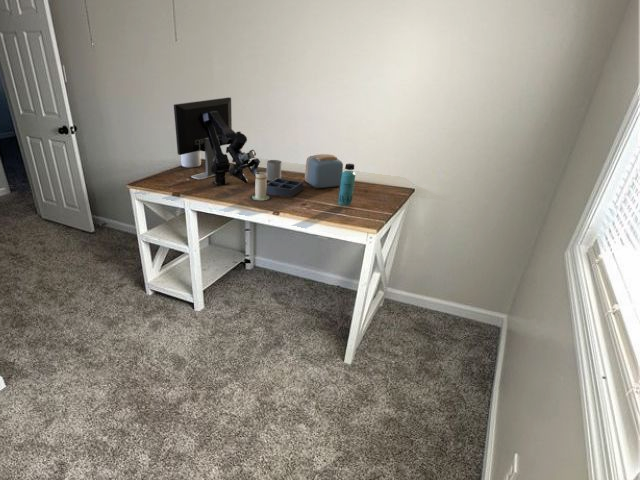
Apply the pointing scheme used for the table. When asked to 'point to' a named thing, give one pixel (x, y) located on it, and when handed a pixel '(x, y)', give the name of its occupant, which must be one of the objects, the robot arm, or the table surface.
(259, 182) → the pen pot
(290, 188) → the organizer
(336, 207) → the table surface
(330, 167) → the blue rounded cube
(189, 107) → the computer monitor
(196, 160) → the cylinder vase
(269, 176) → the cup
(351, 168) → the beverage bottle
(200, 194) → the table surface
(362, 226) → the table surface
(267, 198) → the coaster
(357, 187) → the table surface
